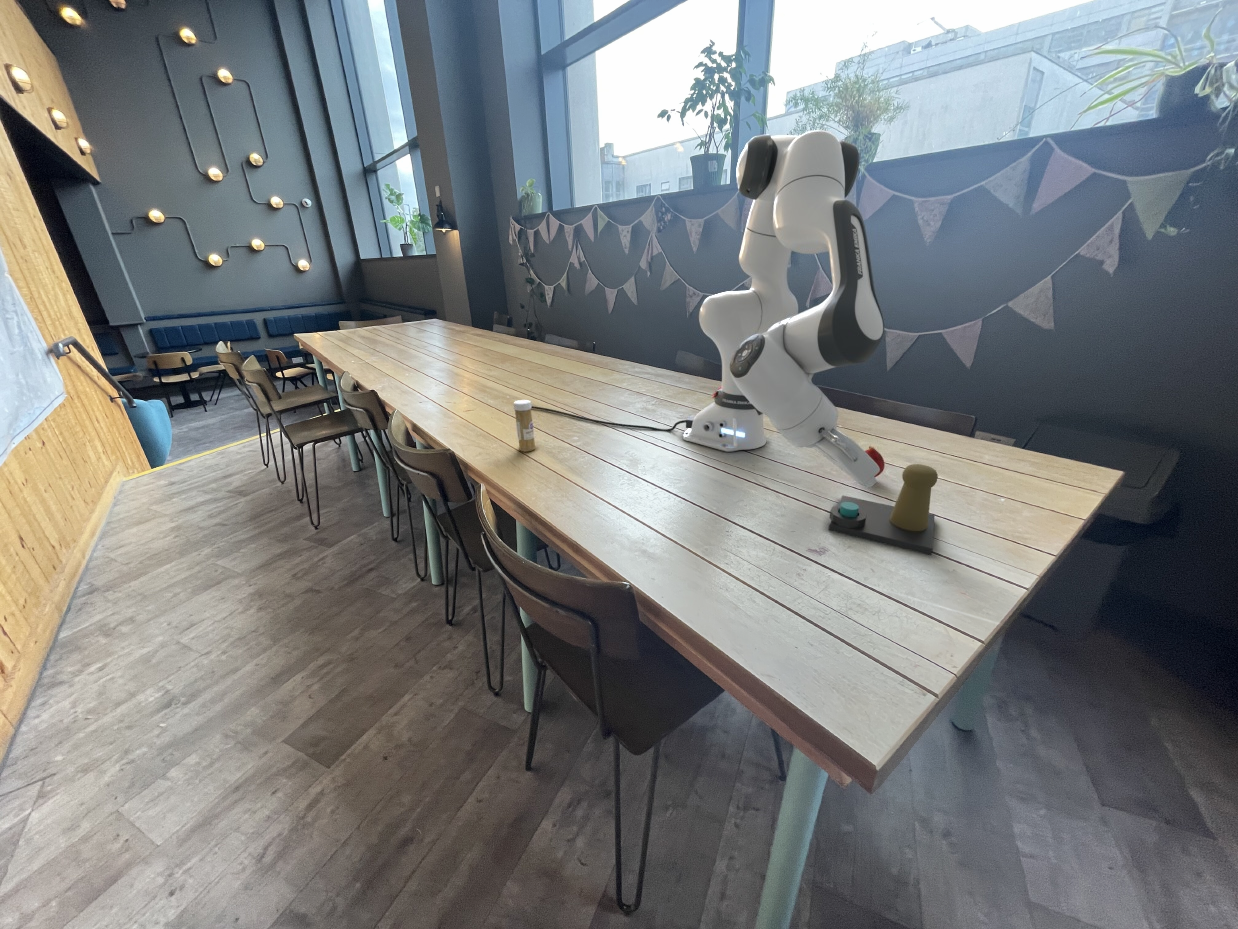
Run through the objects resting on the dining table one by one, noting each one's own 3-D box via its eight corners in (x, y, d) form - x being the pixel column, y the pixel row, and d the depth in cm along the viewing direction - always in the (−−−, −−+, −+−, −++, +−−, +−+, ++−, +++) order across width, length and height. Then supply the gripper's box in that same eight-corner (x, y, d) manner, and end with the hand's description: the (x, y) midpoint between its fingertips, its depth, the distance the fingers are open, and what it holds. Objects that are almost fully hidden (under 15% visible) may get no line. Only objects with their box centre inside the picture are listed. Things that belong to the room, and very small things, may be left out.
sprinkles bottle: (533, 452, 126) (528, 403, 121) (517, 452, 126) (511, 404, 121) (537, 445, 130) (532, 398, 125) (521, 446, 131) (515, 399, 125)
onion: (878, 475, 106) (885, 442, 103) (882, 486, 102) (890, 452, 98) (850, 472, 108) (856, 440, 105) (853, 483, 103) (859, 449, 100)
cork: (933, 532, 82) (949, 475, 78) (895, 529, 83) (909, 473, 79) (920, 515, 87) (934, 461, 83) (884, 512, 89) (897, 459, 84)
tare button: (837, 515, 86) (839, 507, 85) (840, 508, 88) (842, 500, 87) (855, 519, 84) (857, 511, 84) (858, 512, 87) (860, 504, 86)
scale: (825, 529, 86) (828, 515, 85) (838, 500, 96) (841, 487, 95) (930, 555, 78) (935, 540, 77) (932, 521, 88) (936, 507, 87)
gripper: (859, 427, 65) (910, 485, 70) (794, 389, 84) (838, 437, 88) (823, 458, 66) (875, 513, 71) (767, 414, 85) (812, 460, 90)
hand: (854, 471), depth 80 cm, fingers open, 8 cm apart
